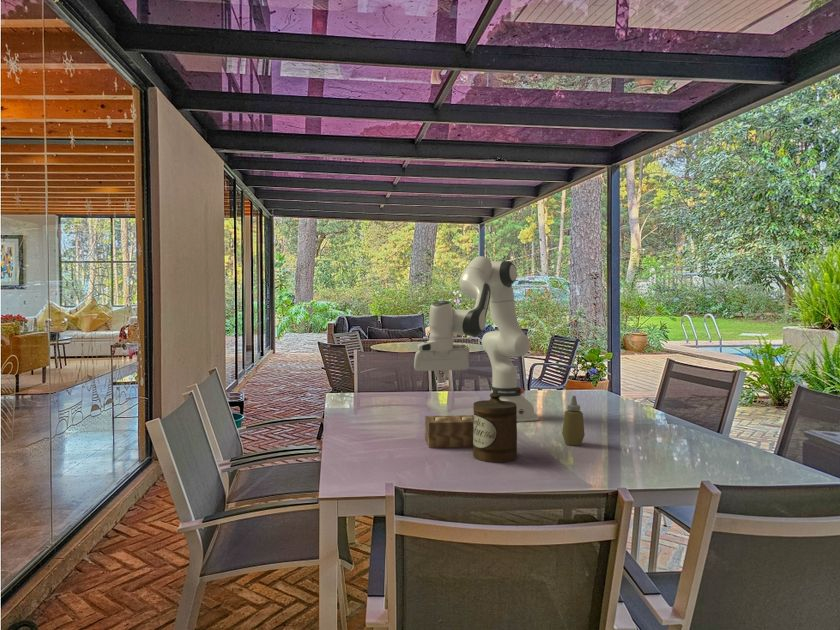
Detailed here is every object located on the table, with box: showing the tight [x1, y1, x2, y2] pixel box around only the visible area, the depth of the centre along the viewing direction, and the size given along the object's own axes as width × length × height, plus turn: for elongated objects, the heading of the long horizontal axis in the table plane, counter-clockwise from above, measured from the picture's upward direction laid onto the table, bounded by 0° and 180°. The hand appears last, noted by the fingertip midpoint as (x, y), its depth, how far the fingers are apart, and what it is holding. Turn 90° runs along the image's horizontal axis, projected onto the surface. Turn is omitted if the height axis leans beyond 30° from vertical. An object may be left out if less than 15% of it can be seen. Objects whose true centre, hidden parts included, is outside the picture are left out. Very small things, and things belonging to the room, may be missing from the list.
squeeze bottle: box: [561, 395, 585, 447], centre depth 214 cm, size 8×8×18 cm
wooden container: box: [472, 392, 518, 463], centre depth 197 cm, size 15×15×22 cm
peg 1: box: [435, 417, 446, 421], centre depth 214 cm, size 4×4×8 cm
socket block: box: [424, 414, 474, 449], centre depth 215 cm, size 20×12×9 cm, turn 96°
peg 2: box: [462, 417, 473, 420], centre depth 215 cm, size 4×4×8 cm
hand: (441, 382), depth 214 cm, fingers closed
